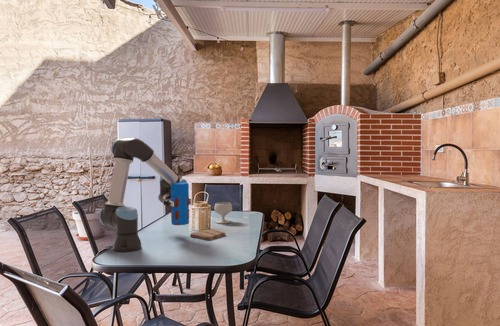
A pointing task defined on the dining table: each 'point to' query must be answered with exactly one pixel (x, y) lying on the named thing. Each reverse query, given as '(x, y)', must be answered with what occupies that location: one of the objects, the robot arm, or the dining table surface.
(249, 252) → the dining table surface
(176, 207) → the blue tower block
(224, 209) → the chalice
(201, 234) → the walnut board
